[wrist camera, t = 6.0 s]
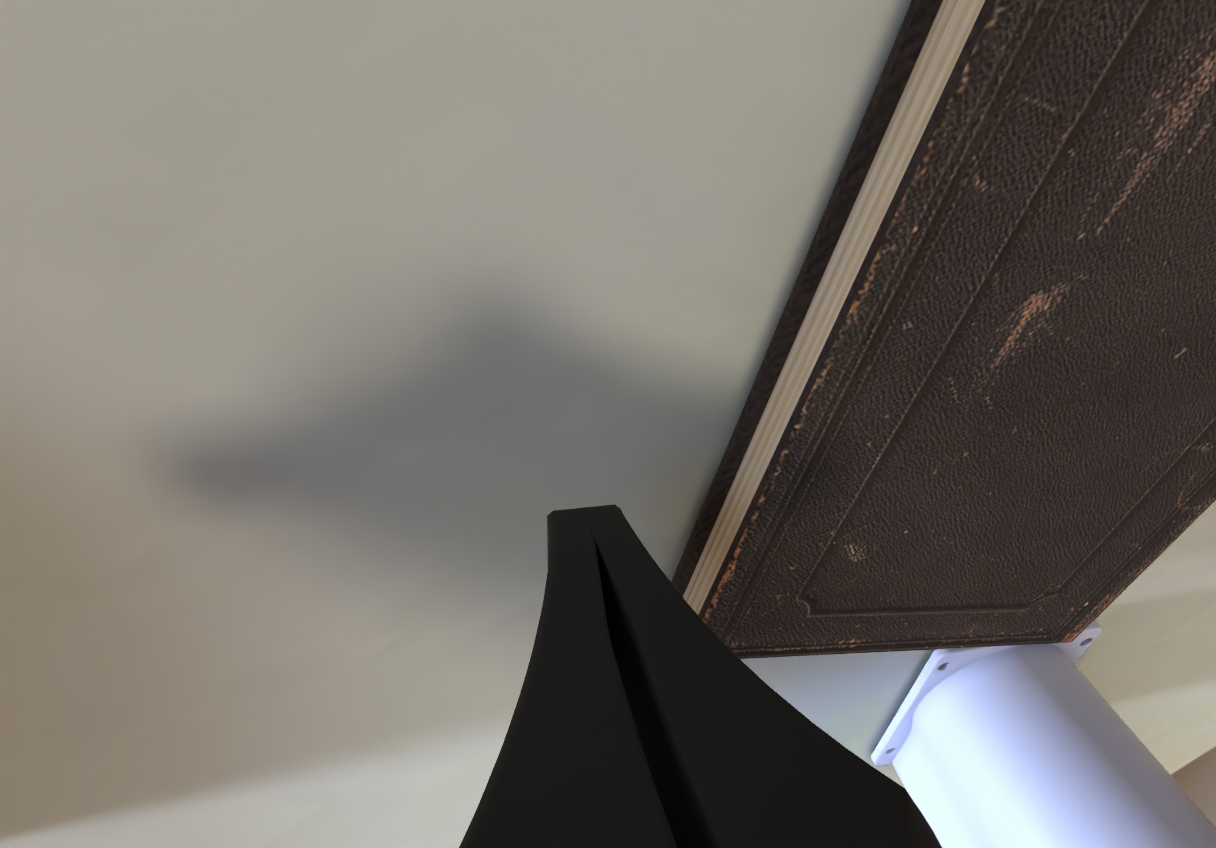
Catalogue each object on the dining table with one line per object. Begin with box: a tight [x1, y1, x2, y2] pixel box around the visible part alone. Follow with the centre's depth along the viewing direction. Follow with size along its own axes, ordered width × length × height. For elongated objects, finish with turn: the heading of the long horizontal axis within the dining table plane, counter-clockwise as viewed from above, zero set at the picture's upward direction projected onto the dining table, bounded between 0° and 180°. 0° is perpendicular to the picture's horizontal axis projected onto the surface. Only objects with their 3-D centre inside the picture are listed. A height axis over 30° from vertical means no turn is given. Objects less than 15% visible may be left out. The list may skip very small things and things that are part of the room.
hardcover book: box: [672, 0, 1216, 659], centre depth 16 cm, size 16×23×2 cm
